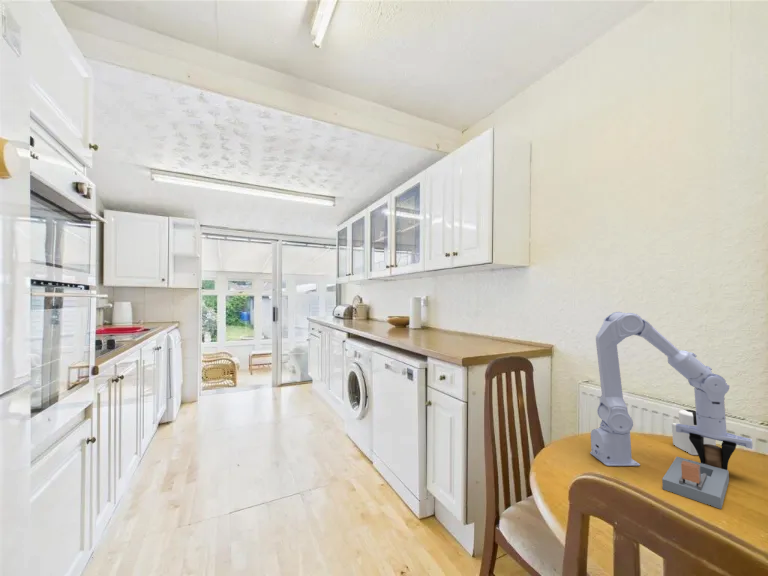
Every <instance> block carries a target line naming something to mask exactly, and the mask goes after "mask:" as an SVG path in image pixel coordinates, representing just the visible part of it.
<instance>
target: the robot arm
mask: <svg viewBox="0 0 768 576" xmlns="http://www.w3.org/2000/svg"><path fill="white" fill-rule="evenodd" d="M632 336H637V337H641V338H642V339H644V340H645V341H647V342H648V343H649V344H650V345H652V346H653V347H655V348H656V349H657V350H658V351H659V352H661V353H662V354H664V355H665V356H666V357H667V364H669V365H670V366H671V367H672V368H673V369H675V371H676V372H678V373H680V375H681V376H683V377H684V378H685V379H686V380H687V381H688V384H689V385H690V386H691V387H693V388H694V389H693V390H694V405H695V411H696V421H697V426H689V425H682V424H676V432H680V433H681V432H683V433H687V434H689V439H690V441H691V442H692V444H693V446H694V447H695V449H696V451H697V453H698V455H697V456H698V458H699V462H700V463H703V464H705V460H704V446H703V445H704V437H705V438H710V439H714V440H716V441H719V442H722V443H721V445H720V447H721V448H722V453H723V469H725V470H728V468H729V461H730V459H731V456H732V455H733V453H734V452H735V450H736V448H737V446H742V447H745V448H747V449H751V450H752V449H753V447H754V446H753V439H752V438H748V437H744V436H740V435H737V434H733V433H729V432H727V419H726V409H725V408H726V407H725V406H726V405H725V404H726V403H725V398H726V397H725V395H726V394H727V393H728V392H729V389H730V385H729V384H728V383H727V380H726V379H725V378H724V377H723V376H721V375H720V374H716V373H714V372H712V370H713V368H712V367H710V366H708V365H705V364H704V363H702V361H701V360H699V359H698V358H697V357H698V355H696V353H694V352H691V351H688V350H684V349H682V350H681V349H680V350H679V348H677V347H676V346H675V345H674V344H673V343H672V342H671V341H669V340H668V339H667V337H665V336H664V335H663V334H662V333H660V332H659V331H658V330H657V329H656V328H655V327H654V326H653V325H652V324H650V322H648V321H647V320H646V319H643V318H642V317H641V316H640V315H638V314H637V313H634V312H622V311H615V312H612V313H610V314H609V315H607V316H606V317H605V318H604V319H603V323H602V325H601V327H600V328H599V330H598V332H597V334H596V335H595V343H596V345H595V346H596V352H597V353H596V354H597V363H598V372H599V381H600V390H601V396H600V397H599V405H598V406H597V411H596V412H597V415H598V417H599V419H601V421H600V424H599V425H600V426H599V427H598V428H593V429H591V431H590V448H591V450H590V451H589V453H590V454H591V455H592V456H593V457H595V458H596V459H597V460H598V461H599V462H601V463H603V464H604V465H605V466H607V467H629V466H630V467H640V466H641V464H640V463H639V462H638V461H637V460H634V459H633V458H632V441H631V439H632V438H631V431H632V429H633V427H634V421H633V419H632V417H631V415H630V413H629V411H628V406H627V404H626V401H625V400H624V394H623V389H622V388H623V387H622V385H623V384H622V377H621V369H620V361H619V351H618V345H619V344H620V343H621V342H622V341H624V340H625V339H627V338H628V337H632Z"/></svg>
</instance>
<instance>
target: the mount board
mask: <svg viewBox="0 0 768 576" xmlns="http://www.w3.org/2000/svg"><path fill="white" fill-rule="evenodd" d="M682 461H687V462H690V463H694V464H697V465H700V473H701V481H700V483H699V484H698V485H697V487H694V486H691V485H688V484H685V479H682V470H681V463H682ZM661 480H662V490H664V491H666V490H667V492H669V491H670V493H672V492H673V494H675V495H679V496H682V497H685V498H687V499H689V500H694V501H697V502H699V503H702V504H705V505H707V504H708V505H709V506H710V505H711V507H713V508H717V509H720V510H722V508H723V504H724V502H725V501H724V500H725V498H726V494H727V489H728V487H729V482H730V474H729V470H728V469H727V470H725V469H721V468H717V467H714V466H710V465H706V464H703V463H701V462H700V461H699V462H698V461H694V460H692V459H687V458H684V457H681V456H675V458H674V460H673V461H672V463H671V465H670V466H669V468H668V469H667V471H666V473H665V474H664V476H663V477H662V479H661Z"/></svg>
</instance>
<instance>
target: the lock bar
mask: <svg viewBox="0 0 768 576" xmlns="http://www.w3.org/2000/svg"><path fill="white" fill-rule="evenodd" d="M681 470H682V479H685V484H688V485H691V486H694V487H697V485H698V484H699V483H700V481H701V473H700V465H697V464H694V463H690V462H687V461H682V463H681Z"/></svg>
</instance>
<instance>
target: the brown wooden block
mask: <svg viewBox="0 0 768 576" xmlns="http://www.w3.org/2000/svg"><path fill="white" fill-rule="evenodd" d="M703 446H704V460H705V464H706V465H710V466H714V467H717V468H721V469H723V453H722V446H717V445H716V446H715V445H711V444H704V445H703Z"/></svg>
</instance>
